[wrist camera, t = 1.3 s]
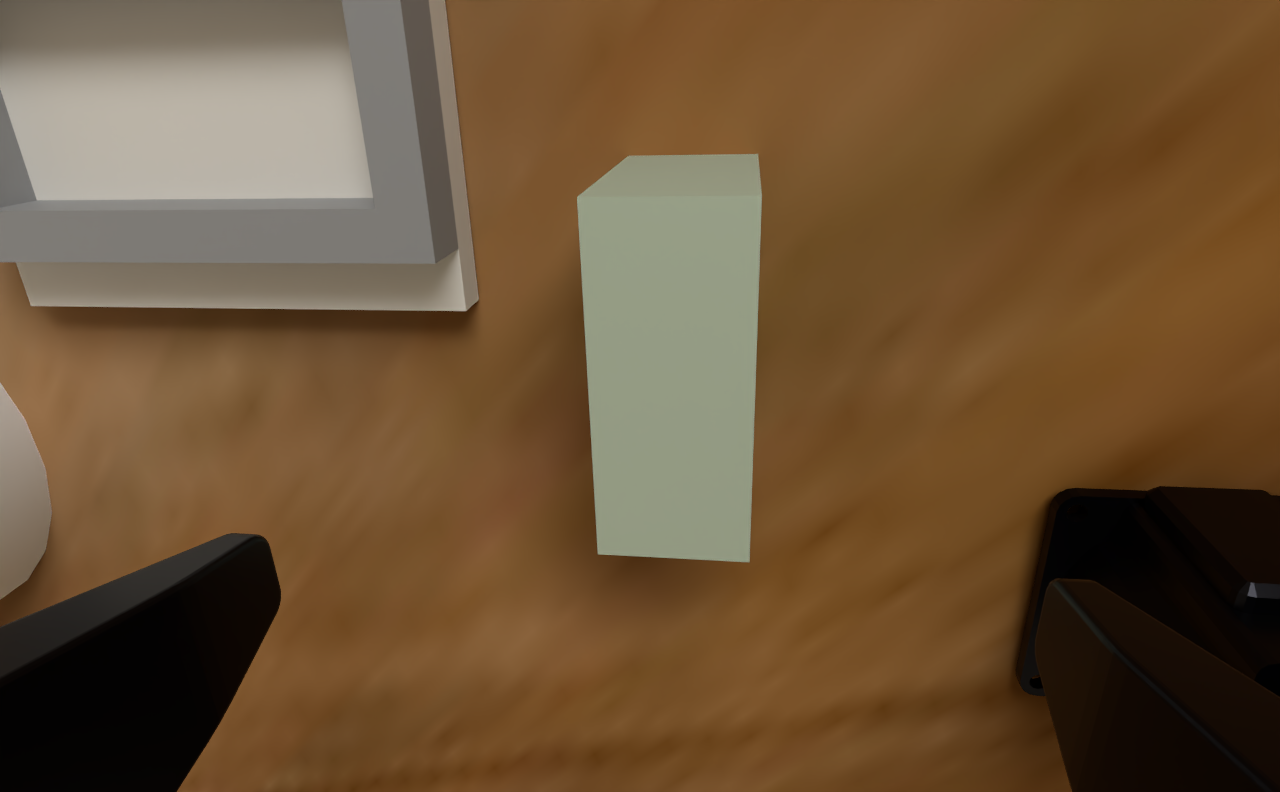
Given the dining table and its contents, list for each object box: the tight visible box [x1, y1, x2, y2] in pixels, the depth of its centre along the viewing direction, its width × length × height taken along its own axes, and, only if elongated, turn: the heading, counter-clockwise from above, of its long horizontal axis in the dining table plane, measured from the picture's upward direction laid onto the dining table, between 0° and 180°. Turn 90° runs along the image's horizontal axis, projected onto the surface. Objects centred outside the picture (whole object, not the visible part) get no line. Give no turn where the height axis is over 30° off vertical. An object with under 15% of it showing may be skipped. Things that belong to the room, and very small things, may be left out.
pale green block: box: [577, 154, 762, 562], centre depth 17 cm, size 7×3×6 cm, turn 1°
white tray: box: [0, 0, 479, 311], centre depth 18 cm, size 10×12×2 cm
